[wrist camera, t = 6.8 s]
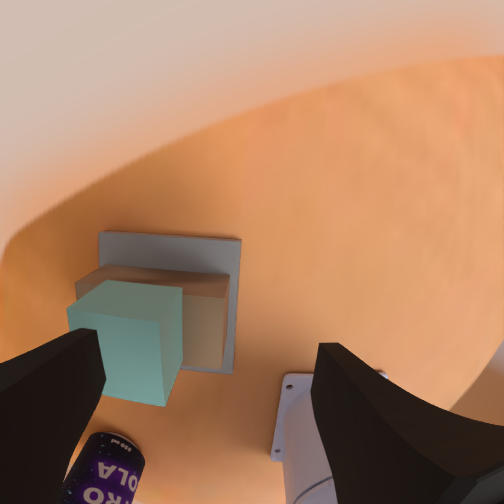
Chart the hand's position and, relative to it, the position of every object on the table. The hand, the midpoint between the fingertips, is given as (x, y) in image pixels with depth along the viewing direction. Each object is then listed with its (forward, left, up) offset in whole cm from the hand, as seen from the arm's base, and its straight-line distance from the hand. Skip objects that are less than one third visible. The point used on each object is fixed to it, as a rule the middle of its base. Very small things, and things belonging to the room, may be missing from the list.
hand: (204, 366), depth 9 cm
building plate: (-2, +4, -10) cm, 11 cm away
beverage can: (-18, +10, -11) cm, 23 cm away
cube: (-1, +4, -6) cm, 7 cm away
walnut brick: (-2, +4, -10) cm, 10 cm away
